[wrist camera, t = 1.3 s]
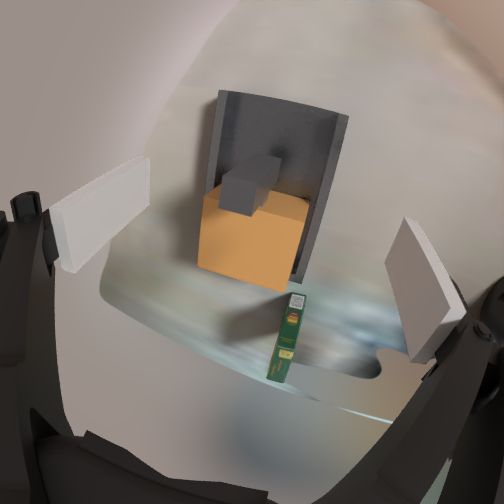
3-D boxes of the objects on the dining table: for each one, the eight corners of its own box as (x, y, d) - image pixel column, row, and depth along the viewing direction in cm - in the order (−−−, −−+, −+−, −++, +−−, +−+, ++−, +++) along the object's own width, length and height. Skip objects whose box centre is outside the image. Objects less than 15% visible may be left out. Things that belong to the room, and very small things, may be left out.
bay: (229, 90, 35) (218, 89, 32) (347, 115, 33) (349, 116, 30) (208, 242, 48) (198, 253, 44) (304, 269, 45) (301, 284, 42)
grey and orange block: (232, 141, 38) (175, 165, 24) (320, 162, 36) (312, 198, 23) (218, 240, 46) (169, 300, 32) (293, 262, 44) (271, 335, 31)
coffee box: (290, 289, 48) (274, 346, 37) (307, 293, 47) (296, 351, 36) (281, 324, 52) (264, 380, 41) (296, 328, 51) (283, 385, 40)
